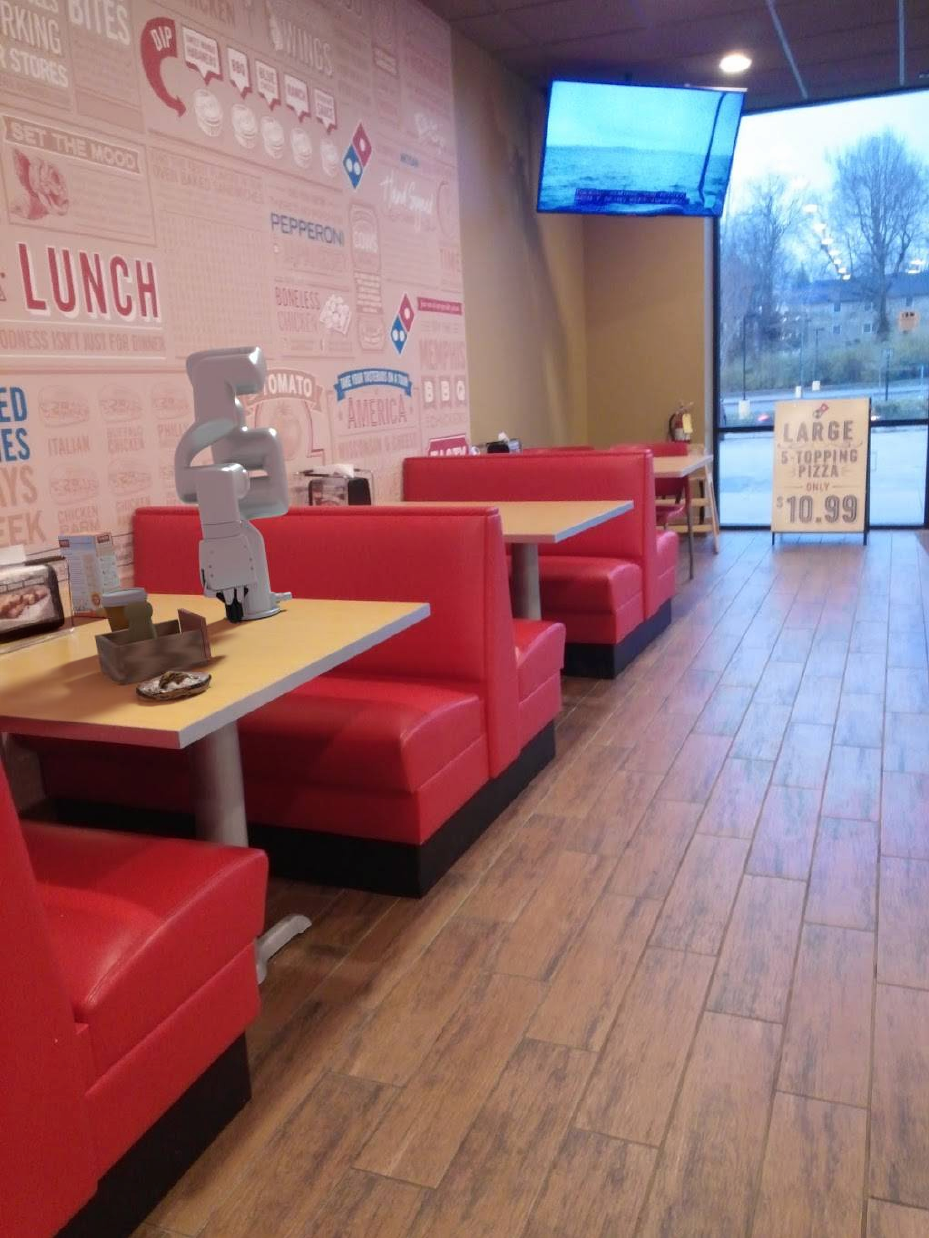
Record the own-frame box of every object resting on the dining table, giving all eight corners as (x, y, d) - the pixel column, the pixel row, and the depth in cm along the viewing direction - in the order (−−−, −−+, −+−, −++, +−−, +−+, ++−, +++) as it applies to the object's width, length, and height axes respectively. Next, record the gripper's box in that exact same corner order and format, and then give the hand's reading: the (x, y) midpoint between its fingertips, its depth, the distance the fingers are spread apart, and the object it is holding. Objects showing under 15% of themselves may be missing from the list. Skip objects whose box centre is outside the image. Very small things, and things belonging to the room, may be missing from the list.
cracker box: (127, 613, 246) (112, 530, 241) (107, 618, 241) (91, 534, 236) (91, 611, 254) (76, 531, 249) (71, 616, 249) (56, 535, 244)
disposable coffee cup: (165, 641, 209) (156, 586, 206) (137, 653, 200) (127, 596, 198) (128, 642, 212) (119, 587, 210) (99, 653, 204) (89, 597, 201)
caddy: (182, 652, 198) (176, 618, 196) (206, 665, 185) (201, 629, 184) (101, 670, 189) (94, 635, 188) (121, 685, 177) (114, 647, 175)
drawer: (189, 646, 198) (182, 608, 196) (212, 658, 186) (205, 617, 184) (108, 664, 189) (101, 624, 188) (127, 677, 178) (120, 635, 176)
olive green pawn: (153, 662, 183) (143, 604, 180) (124, 663, 184) (113, 606, 182) (168, 653, 189) (159, 597, 186) (140, 654, 190) (130, 599, 187)
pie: (184, 677, 180) (181, 655, 179) (236, 685, 171) (233, 662, 170) (113, 701, 169) (109, 677, 168) (165, 711, 160) (160, 687, 159)
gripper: (251, 524, 198) (264, 612, 202) (178, 535, 190) (193, 627, 194) (265, 526, 192) (278, 617, 196) (190, 538, 184) (205, 632, 188)
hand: (236, 622), depth 195 cm, fingers closed
